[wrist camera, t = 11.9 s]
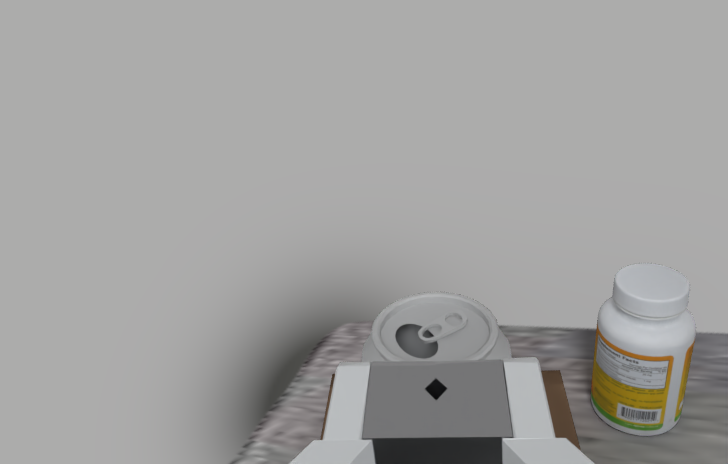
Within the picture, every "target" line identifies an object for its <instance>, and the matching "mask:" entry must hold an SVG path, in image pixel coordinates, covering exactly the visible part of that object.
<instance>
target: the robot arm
mask: <svg viewBox="0 0 728 464" xmlns="http://www.w3.org/2000/svg"><path fill="white" fill-rule="evenodd" d="M289 464H595V463H594V462H593V461H591V460H590V459H589V458H588V457H587V456H586V455H585V454H584V453H582V452H581V451H580V450H579V449H578V448H577V447H576V446H575V445H573V444H572V443H571V442H570V441H569V440H568V439H567V438H556V437H555V433H554V428H553V424H552V419H551V415H550V410H549V405H548V401H547V396H546V392H545V387H544V383H543V378H542V373H541V369H540V364H539V361H538V360H537V358H536V357H525V358H503V359H502V360H501V359H498V360H465V361H373V362H340V363H339V365H338V367H337V368H336V373H335V378H334V383H333V389H332V394H331V399H330V404H329V409H328V415H327V420H326V425H325V430H324V435H323V440H313V441H312V442H311V443H310V444H309V445H308V446H307V447H305V448H304V449H303V450H302V451H301V452H300V453H299V454H298V455H297V456H296V457H295V458H294V459H293V460H292V461H291V462H290V463H289Z"/></svg>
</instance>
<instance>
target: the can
mask: <svg viewBox="0 0 728 464" xmlns="http://www.w3.org/2000/svg"><path fill="white" fill-rule="evenodd" d="M503 358H512V355H511V350H510V344H509V341H508V340H507V338H506V337H505V335H504V334H503V332H502V331H501V330H500V328H498V324H497V320H496V318H495V317H494V316H493V314H492V313H491V311H490V310H489V309H488V308H486V307H485V306H483V305H482V304H481V303H479V302H478V301H476V300H474V299H471V298H468V297H465V296H462V295H460V294H454V293H447V292H424V293H419V294H415V295H411V296H407V297H404V298H402V299H400V300H397V301H395V302H393V303H391V304H390V305H389V306H388V307H387V308H385V309H384V310H382V311H381V312H380V313H379V315H378V316H377V318H376V319H375V321H374V322H373V325H372V332H371V334H370V335H369V337H368V339H367V340H366V342H365V343H364V345H363V352H362V360H361V361H362V362H373V361H465V360H498V359H501V360H502V359H503Z"/></svg>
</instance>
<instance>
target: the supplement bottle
mask: <svg viewBox="0 0 728 464" xmlns="http://www.w3.org/2000/svg"><path fill="white" fill-rule="evenodd" d="M689 291H690V284H689V282H688V280H687V279H686V277H685V276H684V275H682V274H681V273H680V272H678V271H677V270H675V269H672V268H670V267H667V266H663V265H659V264H652V263H638V264H632V265H628V266H626V267H624V268H622V269H620V270H619V271H618V272H617V273H616V275H615V279H614V287H613V296H612V297H611V298H609V299H608V300H607V301H606V302H605V303H604V304H603V305H602V307H601V308H600V311H599V314H598V320H597V330H596V341H595V352H594V364H593V375H592V386H591V402H592V406H593V408H594V410H595V412H596V413H597V414H598V416H599V417H600V418H601V419H602V420H603V421H604V422H606V423H607V424H608V425H610V426H612V427H613V428H615V429H617V430H620V431H622V432H625V433H628V434H632V435H638V436H654V435H659V434H662V433H664V432H667V431H669V430H670V429H671V428H673V427H674V426H675V425H676V424H677V422H678V420H679V418H680V415H681V411H682V406H683V401H684V394H685V389H686V383H687V378H688V372H689V367H690V362H691V356H692V352H693V346H694V342H695V333H696V324H695V321H694V318H693V316H692V314H691V313H690V312H689V310H688V309H687V308H686V307H687V305H688V297H689Z"/></svg>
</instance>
